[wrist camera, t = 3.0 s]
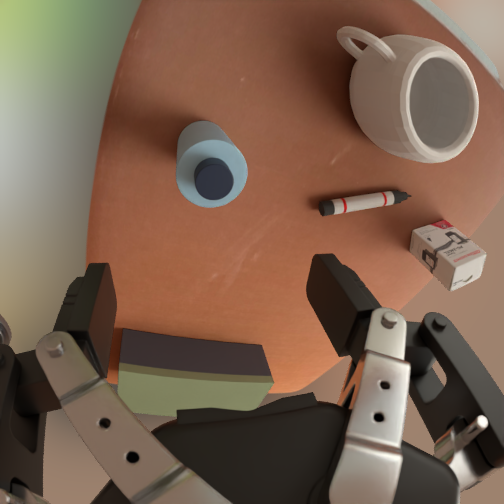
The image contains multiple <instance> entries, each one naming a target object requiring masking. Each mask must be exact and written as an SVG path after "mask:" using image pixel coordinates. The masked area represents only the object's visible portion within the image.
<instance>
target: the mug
mask: <svg viewBox="0 0 504 504" xmlns="http://www.w3.org/2000/svg"><path fill="white" fill-rule="evenodd" d="M350 38H353V39H357V40H359V41H362V42H364V43H366V44H368V46H367V47H366V48H365V49H364V50H363V51H362V50H360V49H359V48H358V47H357V46H356V45H355V44H354V43H353V42H352V41H351V40H350ZM337 40H338V41H339V43H340V44H341V45H342V47H343V48H344V49H345V50H346V51H347V52H348V53H350V54H351V55H352V56H353V57H355V58H356V59H357V61H356V63H355V64H354V67H353V69H352V73H351V79H350V85H349V90H350V103H351V107H352V110H353V113H354V117H355V119H356V121H357V123H358V124H359V126H360V128H361V130H362V131H363V132H364V134H365V135H366V136H367V137H368V138H369V139H370V140H371V141H372V142H373V143H374V144H375V145H376V146H378V147H379V148H381V149H383V150H384V151H386V152H388V153H390V154H392V155H395V156H398V157H402V158H406V159H410V160H414V161H418V162H423V163H437V162H444V161H447V160H449V159H451V158H453V157H455V156H457V155H458V154H459V153H460V152H461V151H462V150H463V149H464V148H465V147H466V145H467V144H468V143H469V141H470V140H471V137H472V135H473V133H474V130H475V127H476V123H477V118H478V105H479V100H478V93H477V87H476V84H475V81H474V78H473V75H472V73H471V71H470V70H469V68H468V66H467V64H466V63H465V62H464V61H463V60H462V59H461V57H460V56H459V55H458V54H457V53H455V52H454V51H453V50H451V49H450V48H448V47H447V46H445V45H443V44H441V43H439V42H436V41H434V40H430V39H426V38H421V37H416V36H410V35H392V36H386V37H383V38H381V39H379V38H378V37H376V36H374V35H372V34H371V33H369V32H367V31H364V30H362V29H359V28H356V27H352V26H345V27H343V28H341V29H339V30H338V31H337Z"/></svg>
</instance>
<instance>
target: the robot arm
mask: <svg viewBox="0 0 504 504" xmlns="http://www.w3.org/2000/svg"><path fill="white" fill-rule="evenodd" d="M306 293H307V298H308V300H309V302H310V304H311V306H312V308H313V309H314V311H315V313H316V315H317V317H318V319H319V320H320V322H321V324H322V326H323V328H324V330H325V332H326V333H327V335H328V337H329V339H330V341H331V343H332V345H333V347H334V348H335V350H336V352H337V354H338V356H339V357H343V356H348V355H350V356H351V357H352V360H351V362H350V364H349V368H348V371H347V374H346V378H345V381H344V385H343V388H342V391H341V394H340V397H339V400H338V402H337V404H333V403H329V402H322V401H317V400H316V398H315V396H314V394H313V392H311V393H307V394H302V395H296V396H291V397H285V398H281V399H279V400H276V401H274V402H271V403H269V404H266V405H264V406H261V407H259V408H256V409H254V410H250V411H242V410H231V409H222V408H213V407H209V408H196V409H180V410H176V412H177V419H176V420H172V421H169V422H167V423H164V424H162V425H160V426H159V427H157V428H155V429H154V430H153V431H151V432H150V431H149V430H148V429H147V428H146V427H145V426H144V425H143V424H142V422H141V421H140V420H139V419H138V418H137V417H136V416H135V414H134V413H133V412H132V411H131V410H130V409H129V407H128V406H127V405H126V404H125V403H124V402H123V400H122V399H121V398H120V397H119V395H118V394H117V393H116V392H115V390H113V388H112V387H111V385H110V384H109V383H108V382H107V380H106V379H105V378H107V373H108V364H109V357H110V349H111V342H112V335H113V329H114V323H115V317H116V311H117V300H116V294H115V289H114V284H113V280H112V275H111V270H110V265H109V263H90V264H89V265H88V268H87V270H86V273H85V276H84V277H77V278H76V279H75V280H74V281H73V282H72V283H71V284H70V286H69V288H68V290H67V293H66V297H65V298H64V301H63V305H62V306H61V309H60V312H59V314H58V317H57V320H56V323H55V326H54V329H53V332H51V333H49V334H47V335H45V336H44V337H43V338H41V339H40V340H39V342H38V344H37V346H36V349H35V350H32V351H28V352H24V353H19V354H15V353H14V351H13V350H12V348H11V347H10V346H8V345H5V344H3V343H4V340H5V337H4V333H3V331H2V329H1V328H0V504H50V503H49V502H48V501H47V500H46V499H44V498H43V454H44V453H43V452H44V438H45V437H44V436H45V426H46V416H47V412H48V411H53V410H58V409H61V408H63V410H64V412H65V414H66V415H67V417H68V418H69V420H70V422H71V423H72V425H73V426H74V428H75V430H76V431H77V433H78V434H79V436H80V437H81V438H82V440H83V442H84V443H85V444H86V446H87V447H88V449H89V450H90V452H91V453H92V454H93V456H94V457H95V459H96V460H97V461H98V463H99V464H100V465H101V466H102V468H103V469H104V470H105V472H106V473H107V474H108V475H109V477H110V478H111V479H110V480H109V482H108V483H107V484H106V485H105V486H104V488H103V489H102V490H101V491H100V492H99V494H98V495H97V496H96V497H95V498H94V500H93V501H92V502H91V503H90V504H460V493H461V492H462V491H464V490H467V489H470V488H472V487H473V486H475V485H477V484H478V483H480V482H482V481H483V480H484V479H486V478H488V477H489V476H491V475H492V474H494V473H495V472H497V471H498V470H500V469H501V468H502V467H504V395H503V394H502V392H501V390H500V389H499V387H498V386H497V384H496V383H495V381H494V380H493V379H492V377H491V375H490V374H489V373H488V371H487V370H486V368H485V367H484V365H483V364H482V363H481V361H480V360H479V358H478V357H477V356H476V354H475V353H474V351H473V350H472V349H471V347H470V346H469V345H468V343H467V342H466V341H465V340H464V338H463V337H462V335H461V334H460V333H459V331H458V330H457V329H456V328H455V326H454V325H453V324H452V322H451V321H450V320H449V319H448V318H447V317H445V316H444V315H442V314H439V313H436V312H430V313H427V314H426V315H425V316H424V318H423V320H422V322H421V323H420V322H408V321H406V320H405V318H404V317H403V316H402V315H401V314H400V313H399V312H397V311H395V310H393V309H391V308H385V307H382V306H381V305H380V304H379V302H378V301H377V300H376V298H375V297H374V296H373V295H372V293H371V292H370V291H369V289H368V288H367V287H365V284H364V283H363V282H362V281H360V278H359V277H358V275H357V274H356V273H355V272H354V271H353V270H352V269H350V268H349V267H347V266H346V265H342V264H341V263H340V261H339V260H338V259H337V258H336V256H335V255H334V254H332V253H331V254H315V255H314V256H313V259H312V263H311V268H310V272H309V277H308V281H307V286H306ZM436 360H437V361H438V363H439V364H440V366H441V367H442V369H443V371H444V372H445V374H446V377H447V382H446V385H445V387H444V386H443V384H442V383H441V381H440V380H439V378H438V376H437V375H436V373H435V371H434V370H433V368H432V365H433V364H434V362H435V361H436ZM408 393H409V395H410V396H411V398H412V400H413V402H414V404H415V406H416V407H417V410H418V411H419V414H420V415H421V417H422V419H423V421H424V423H425V425H426V427H427V429H428V431H429V433H430V435H431V437H432V439H433V441H434V443H435V447H434V453H435V454H434V455H433V456H432V455H430V454H428V453H426V452H424V451H422V450H420V449H418V448H417V447H415V446H413V445H411V444H409V443H407V442H405V441H403V440H402V435H403V429H404V422H405V415H406V408H407V400H408Z"/></svg>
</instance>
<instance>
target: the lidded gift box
mask: <svg viewBox="0 0 504 504" xmlns="http://www.w3.org/2000/svg"><path fill="white" fill-rule="evenodd" d="M273 384H274V381H273V378H272V375H271V372H270V369H269V366H268V363H267V360H266V357H265V353H264V350H263V347H262V345H252V344H240V343H229V342H219V341H209V340H200V339H192V338H184V337H176V336H169V335H162V334H155V333H148V332H142V331H136V330H130V329H124V328H123V333H122V341H121V350H120V360H119V370H118V395H119V397H120V398H121V399H122V400H123V402H124V403H125V404H126V405H127V406H128V407H129V409H130V410H131V411H132V412H135V413H143V414H153V415H163V416H175V417H177V412H176V410H180V409H196V408H209V407H213V408H222V409H231V410H242V411H250V410H254V409H256V408H257V407H258V406H259V404H260V403H261V401H262V400H263V399H264V397H265V396H266V394H267V393H268V391H269V390H270V388H271V387H272V386H273Z"/></svg>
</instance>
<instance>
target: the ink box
mask: <svg viewBox="0 0 504 504" xmlns="http://www.w3.org/2000/svg"><path fill="white" fill-rule="evenodd" d="M410 253H411V254H412V255H414V256H415V257H416V258H417V259H418V260H419V261H420V262H421V263H422V264H423V265H424V266H425V267H426V268H427V269H428V270H429V271H430V272H431V273H432V274H433V275H434V276H435V277H436V278H437V279H438V280H439V281H440V282H441V283H442V284H443V285H444V286H445V287H446V288H447V289H448V290H449V291H453V290H455V289H457V288H460V287H462V286H464V285H466V284H468V283H470V282H472V281H474V280H476V279H478V278H479V277H480V275H481V273H482V269H483V266H484V262H485V259H486V255H487V253H485V252H484V251H483V250H482V249H481V248H480V247H478V246H477V245H476V244H475V243H474V242H472V241H471V240H470V239H469V238H468V237H466V236H465V235H464V234H463V233H461V232H460V231H459V230H458V229H456V228H455V227H454V226H452V225H451V224H450V223H449V222H447V221H446V220H442V221H439V222H436V223H433V224H430V225H427V226H424V227H421V228H417V229H414V230H412V236H411V243H410Z"/></svg>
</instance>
